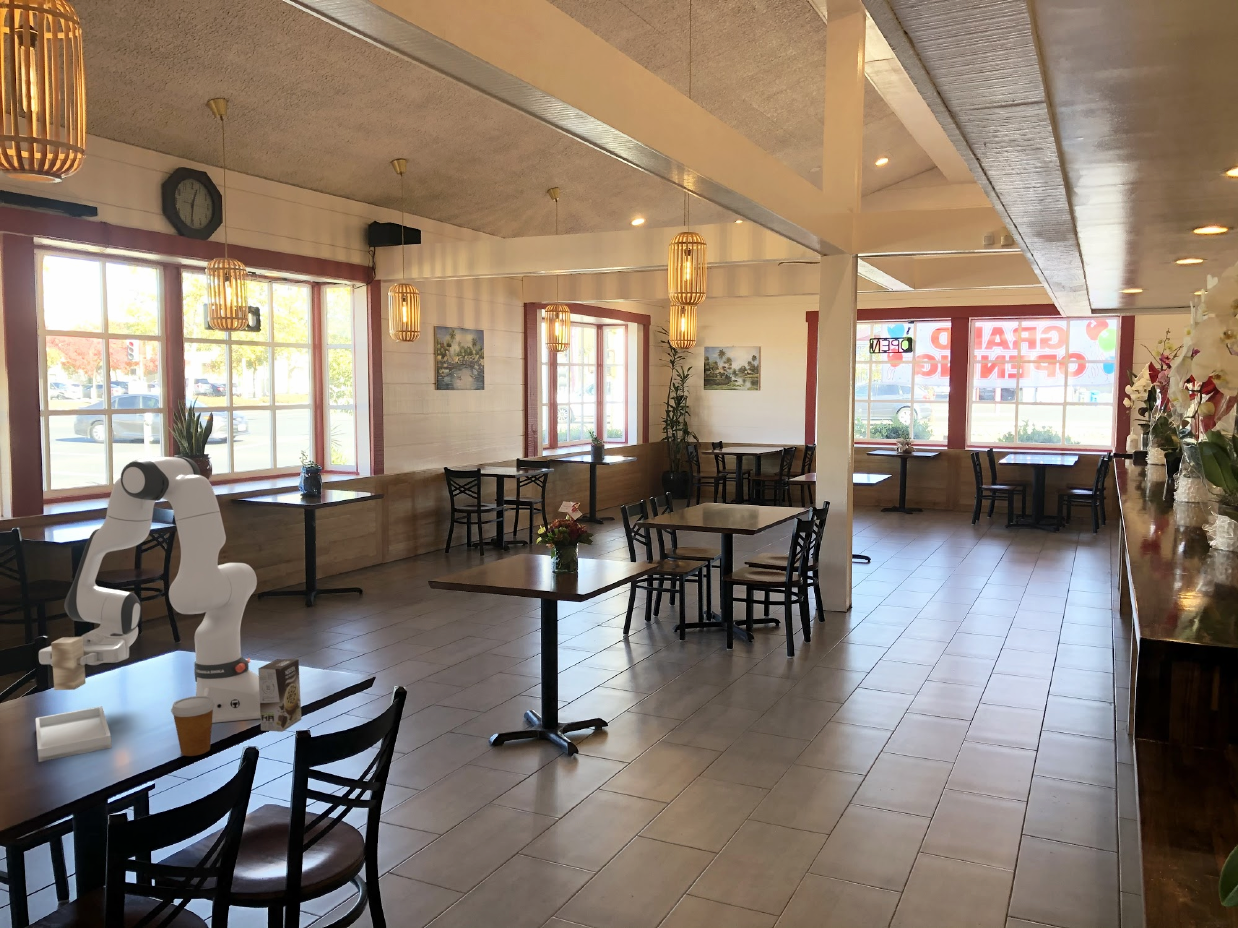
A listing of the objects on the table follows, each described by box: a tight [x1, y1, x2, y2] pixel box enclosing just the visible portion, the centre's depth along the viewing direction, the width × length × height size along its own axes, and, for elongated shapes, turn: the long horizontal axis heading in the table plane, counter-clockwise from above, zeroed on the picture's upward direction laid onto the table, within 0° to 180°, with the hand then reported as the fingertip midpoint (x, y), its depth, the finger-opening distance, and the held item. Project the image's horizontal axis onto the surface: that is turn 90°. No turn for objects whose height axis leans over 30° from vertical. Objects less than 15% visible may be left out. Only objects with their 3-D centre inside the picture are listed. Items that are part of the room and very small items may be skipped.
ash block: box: [50, 636, 86, 691], centre depth 237 cm, size 5×5×12 cm
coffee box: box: [257, 658, 302, 733], centre depth 239 cm, size 9×6×16 cm
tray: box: [35, 706, 112, 763], centre depth 234 cm, size 26×15×3 cm, turn 33°
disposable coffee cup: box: [170, 695, 215, 757], centre depth 223 cm, size 10×10×12 cm
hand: (66, 662), depth 236 cm, fingers closed on ash block, 5 cm apart
